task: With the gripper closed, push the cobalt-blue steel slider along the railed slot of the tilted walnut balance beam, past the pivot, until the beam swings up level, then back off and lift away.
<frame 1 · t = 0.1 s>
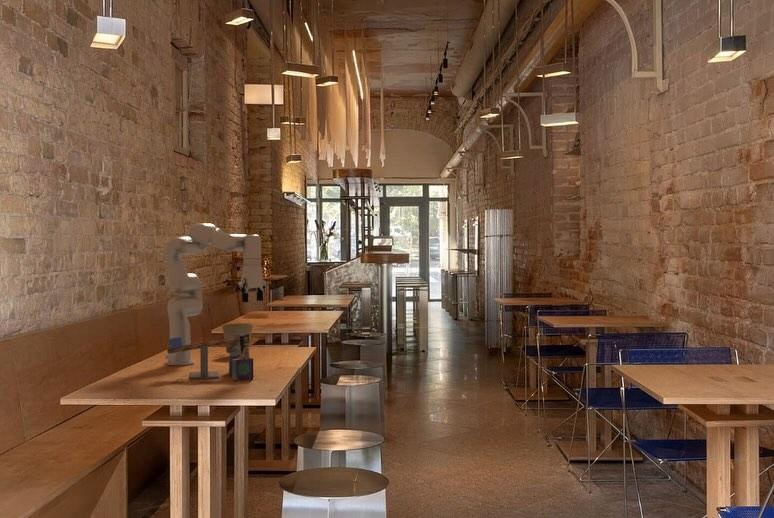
hand: (252, 301, 371), 31 cm above the table, fingers open, 9 cm apart
stand: (204, 376, 359), on the table
coffee box: (239, 370, 376), on the table
beam: (204, 349, 358), point 12 cm above the table, hinge at -8.2°, touching blue block
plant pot: (237, 356, 423), on the table
blue block: (176, 348, 356), point 12 cm above the table, tilted 8°, touching beam
flask: (242, 380, 350), on the table
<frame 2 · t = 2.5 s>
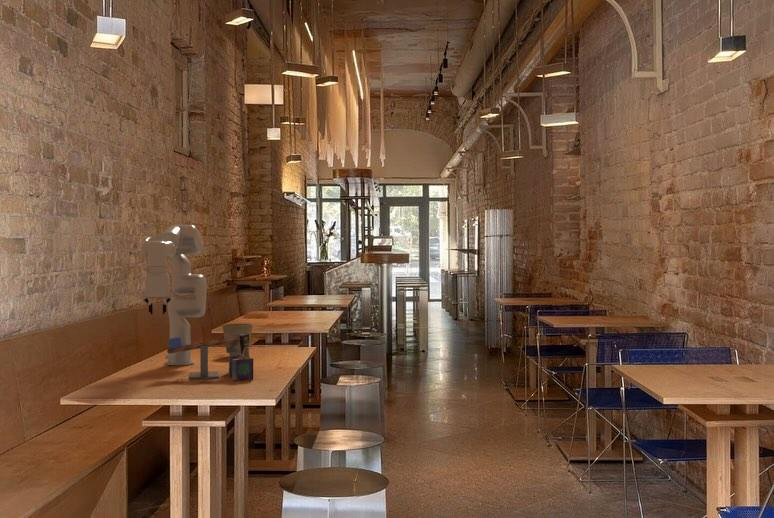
hand: (157, 313, 354), 27 cm above the table, fingers open, 4 cm apart
nothing on the table moved.
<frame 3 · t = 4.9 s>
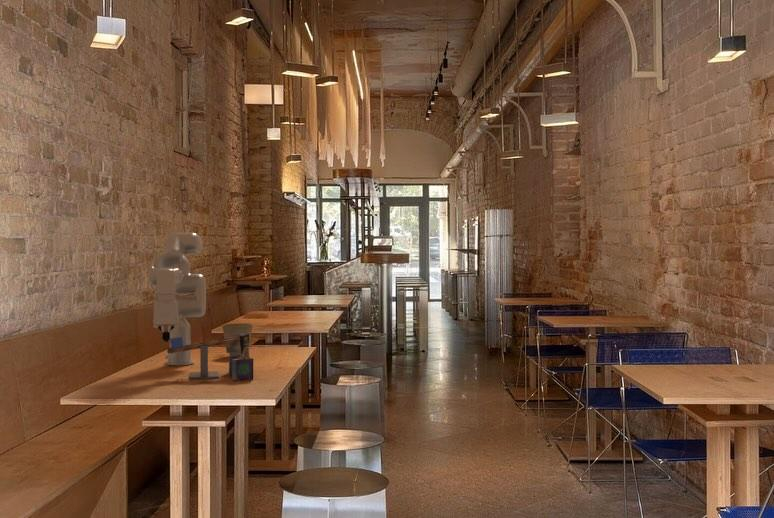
hand: (166, 341, 355), 16 cm above the table, fingers closed
blue block: (177, 348, 356), point 12 cm above the table, tilted 8°, touching beam, gripper
everything else where it was.
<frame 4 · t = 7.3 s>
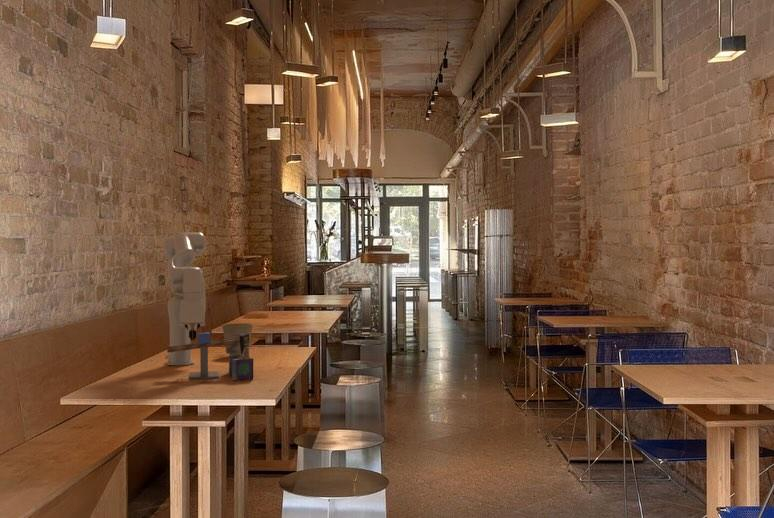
hand: (192, 339, 357), 16 cm above the table, fingers closed
beam: (204, 349, 358), point 12 cm above the table, hinge at -6.3°, touching blue block
blue block: (204, 344, 358), point 14 cm above the table, tilted 6°, touching beam, gripper
everything else where it was.
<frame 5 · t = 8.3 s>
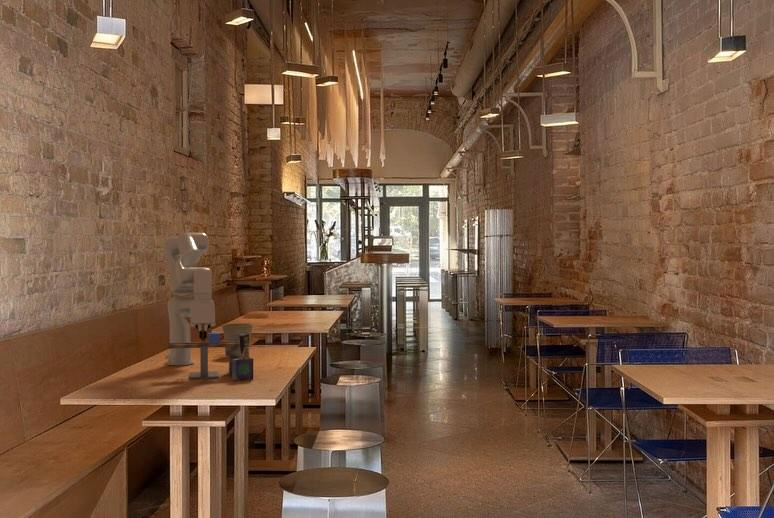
hand: (202, 340, 358), 16 cm above the table, fingers closed
beam: (204, 349, 358), point 12 cm above the table, hinge at 0.2°
blue block: (214, 344, 359), point 14 cm above the table
everything else where it was.
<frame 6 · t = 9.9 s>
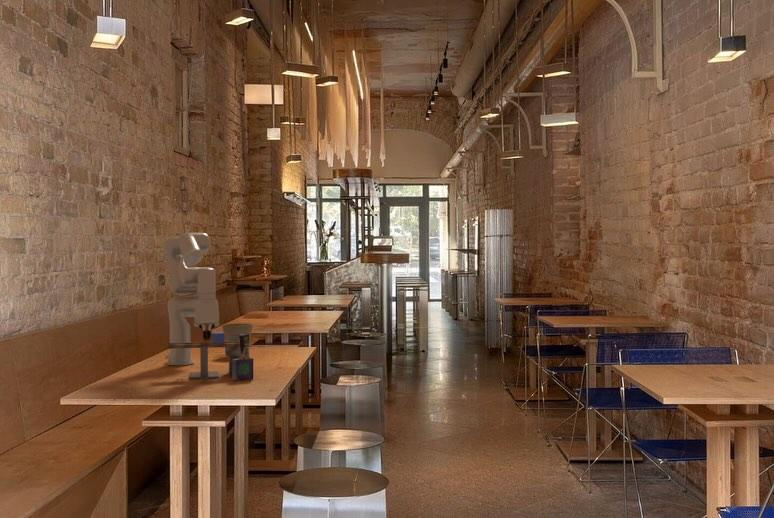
hand: (206, 339, 358), 16 cm above the table, fingers closed
beam: (204, 349, 358), point 12 cm above the table, hinge at 0.2°, touching blue block
blue block: (218, 344, 359), point 14 cm above the table, touching beam, gripper
everything else where it was.
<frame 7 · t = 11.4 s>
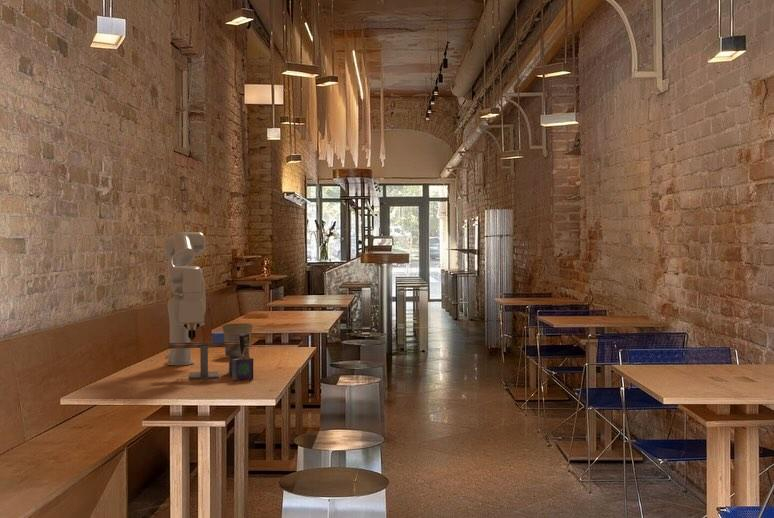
hand: (191, 339, 358), 16 cm above the table, fingers closed
blue block: (218, 344, 359), point 14 cm above the table, touching beam
everything else where it was.
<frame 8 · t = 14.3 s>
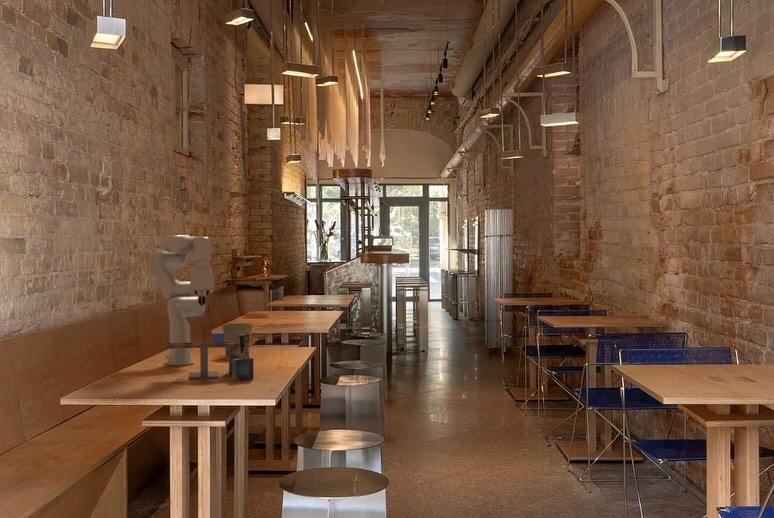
hand: (201, 305, 376), 29 cm above the table, fingers closed
nothing on the table moved.
at the end: beam at +0° (first picture: -8°); blue block touching beam; blue block 5.9 cm from the beam (horizontally) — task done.
